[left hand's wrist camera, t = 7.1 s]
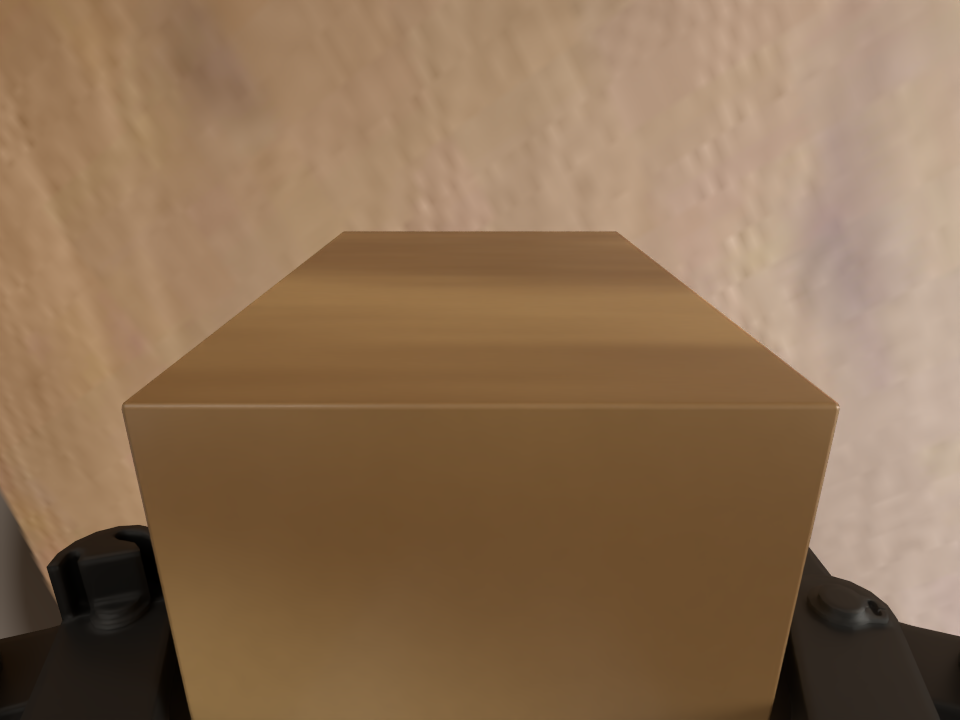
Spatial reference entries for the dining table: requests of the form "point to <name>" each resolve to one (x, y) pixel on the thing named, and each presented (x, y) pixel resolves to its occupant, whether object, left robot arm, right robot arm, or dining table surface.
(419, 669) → the box
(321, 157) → the dining table surface
